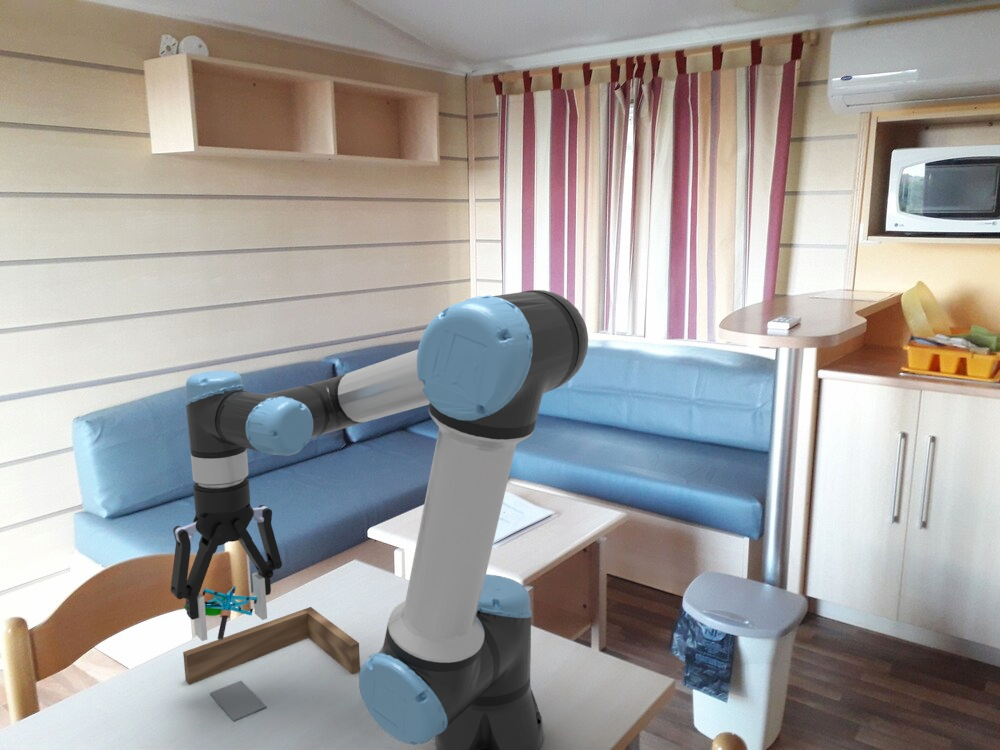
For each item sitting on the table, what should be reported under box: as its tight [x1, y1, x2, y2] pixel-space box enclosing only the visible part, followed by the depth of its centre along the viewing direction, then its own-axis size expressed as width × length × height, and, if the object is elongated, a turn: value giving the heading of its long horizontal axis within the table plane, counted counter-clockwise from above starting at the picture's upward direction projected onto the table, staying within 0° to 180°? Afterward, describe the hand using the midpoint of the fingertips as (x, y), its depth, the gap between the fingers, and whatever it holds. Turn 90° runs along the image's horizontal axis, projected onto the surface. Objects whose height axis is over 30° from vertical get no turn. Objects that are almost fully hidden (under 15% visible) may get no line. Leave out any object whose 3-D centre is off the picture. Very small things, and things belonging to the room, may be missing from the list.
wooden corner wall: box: [182, 606, 361, 686], centre depth 124 cm, size 16×22×5 cm
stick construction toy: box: [184, 586, 257, 640], centre depth 114 cm, size 12×7×8 cm
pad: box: [209, 680, 267, 722], centre depth 118 cm, size 9×5×1 cm, turn 41°
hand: (231, 625), depth 116 cm, fingers closed on stick construction toy, 8 cm apart
